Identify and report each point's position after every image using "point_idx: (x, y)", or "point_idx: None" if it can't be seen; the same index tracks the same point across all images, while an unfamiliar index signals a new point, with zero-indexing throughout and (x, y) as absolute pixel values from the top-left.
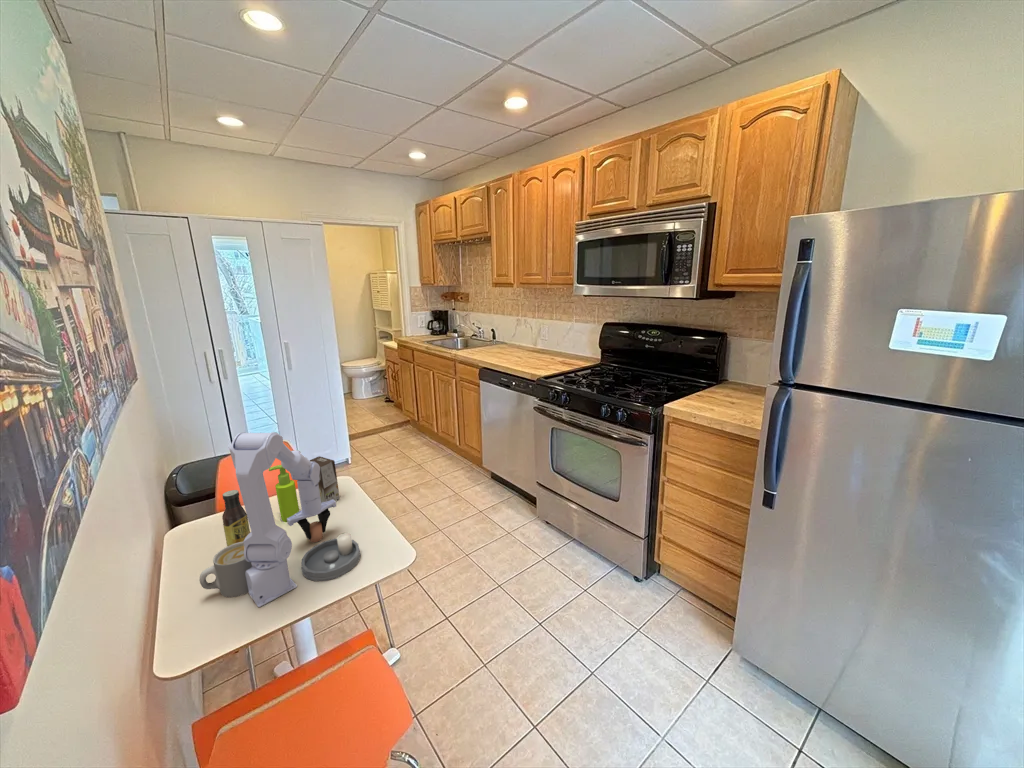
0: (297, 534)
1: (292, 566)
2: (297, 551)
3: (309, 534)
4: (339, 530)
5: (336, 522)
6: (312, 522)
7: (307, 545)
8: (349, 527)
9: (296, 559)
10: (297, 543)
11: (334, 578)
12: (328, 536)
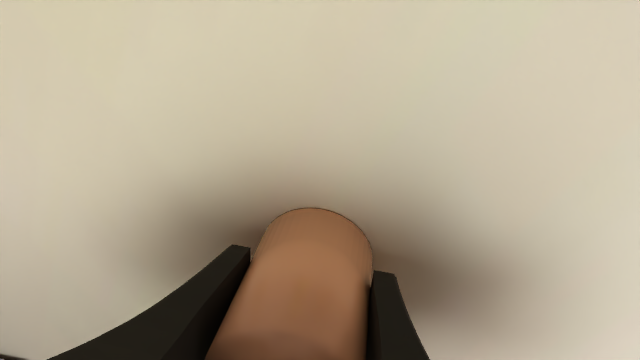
0: (229, 29)
1: None
2: (145, 262)
3: None
4: (503, 320)
5: (616, 201)
6: (292, 333)
7: None
8: (580, 356)
9: (118, 319)
10: (176, 176)
11: None
12: None
